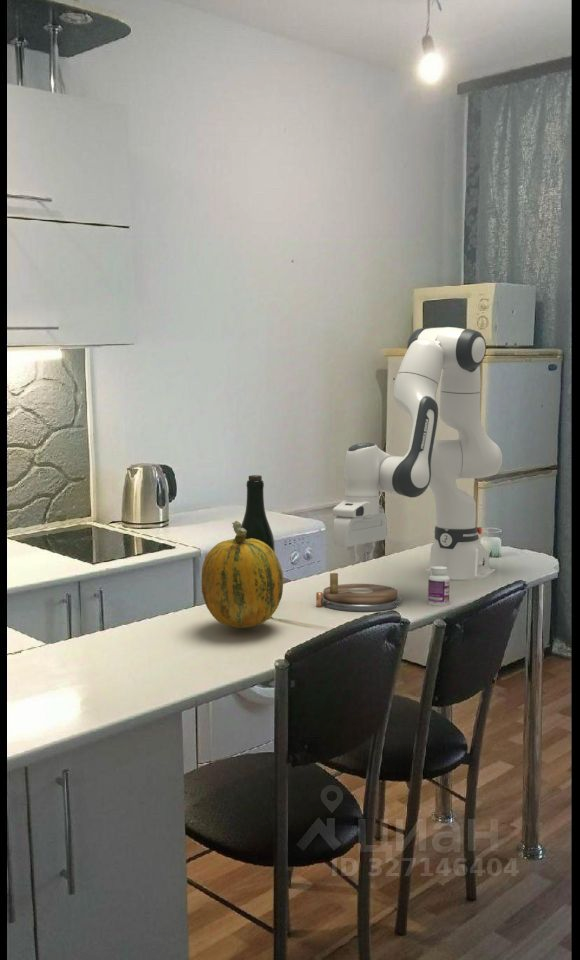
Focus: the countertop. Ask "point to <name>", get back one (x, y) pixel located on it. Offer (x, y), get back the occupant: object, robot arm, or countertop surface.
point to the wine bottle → (257, 513)
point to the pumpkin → (241, 581)
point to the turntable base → (356, 608)
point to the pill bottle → (438, 586)
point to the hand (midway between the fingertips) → (361, 561)
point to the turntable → (358, 593)
